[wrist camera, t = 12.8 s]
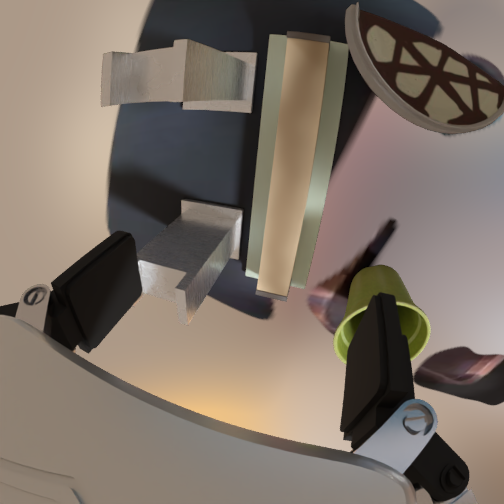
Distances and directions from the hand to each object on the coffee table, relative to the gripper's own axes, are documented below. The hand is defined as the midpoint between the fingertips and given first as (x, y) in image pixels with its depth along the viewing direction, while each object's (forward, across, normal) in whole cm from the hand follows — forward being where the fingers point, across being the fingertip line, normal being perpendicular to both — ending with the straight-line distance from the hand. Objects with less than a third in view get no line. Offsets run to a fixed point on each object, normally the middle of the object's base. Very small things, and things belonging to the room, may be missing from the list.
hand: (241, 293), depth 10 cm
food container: (+19, -8, -10) cm, 23 cm away
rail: (+18, +1, 0) cm, 18 cm away
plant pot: (+19, -11, +11) cm, 25 cm away
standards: (+18, +9, 0) cm, 20 cm away
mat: (+19, +1, 0) cm, 19 cm away
